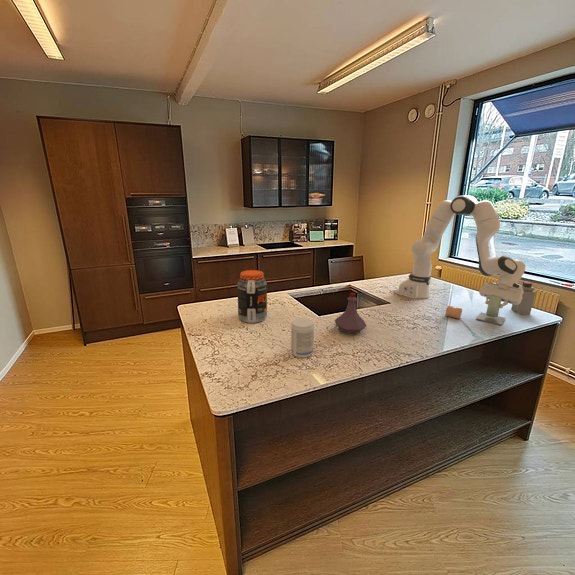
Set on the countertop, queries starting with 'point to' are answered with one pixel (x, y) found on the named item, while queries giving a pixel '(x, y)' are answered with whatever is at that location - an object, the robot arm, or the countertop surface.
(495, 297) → the pale green rounded cylinder
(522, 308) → the perfume bottle
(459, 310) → the tan rounded cylinder
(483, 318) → the plate
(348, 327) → the flask
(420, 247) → the robot arm
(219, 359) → the countertop surface
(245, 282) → the supplement tub
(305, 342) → the supplement tub
